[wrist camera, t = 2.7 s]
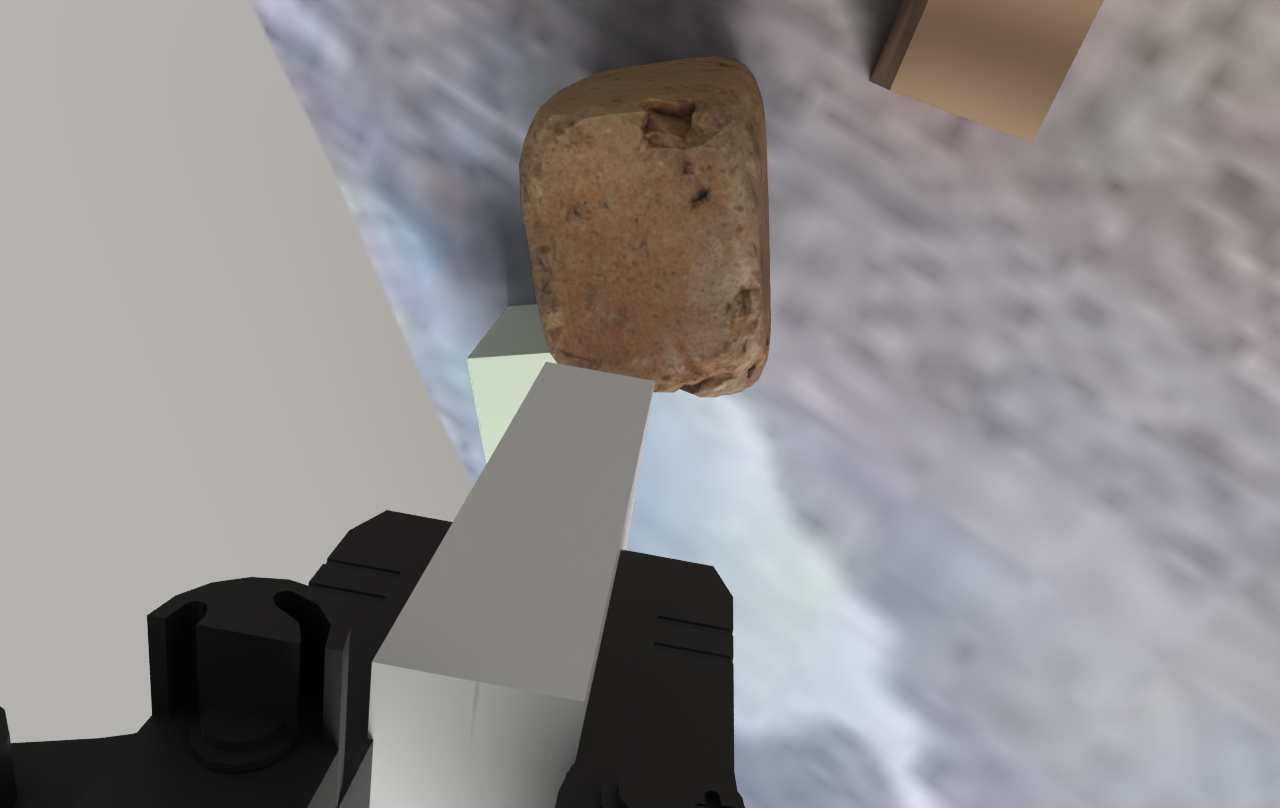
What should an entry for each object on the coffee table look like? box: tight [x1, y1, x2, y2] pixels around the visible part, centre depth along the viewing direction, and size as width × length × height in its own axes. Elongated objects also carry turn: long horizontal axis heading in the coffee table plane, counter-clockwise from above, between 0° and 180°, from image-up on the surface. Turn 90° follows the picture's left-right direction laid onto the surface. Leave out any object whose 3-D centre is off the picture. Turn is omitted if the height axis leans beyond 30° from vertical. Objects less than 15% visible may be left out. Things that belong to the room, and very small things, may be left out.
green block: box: [467, 304, 557, 464], centre depth 44 cm, size 6×6×8 cm
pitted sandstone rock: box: [519, 56, 771, 397], centre depth 35 cm, size 11×8×20 cm
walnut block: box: [870, 0, 1103, 143], centre depth 38 cm, size 6×6×6 cm
